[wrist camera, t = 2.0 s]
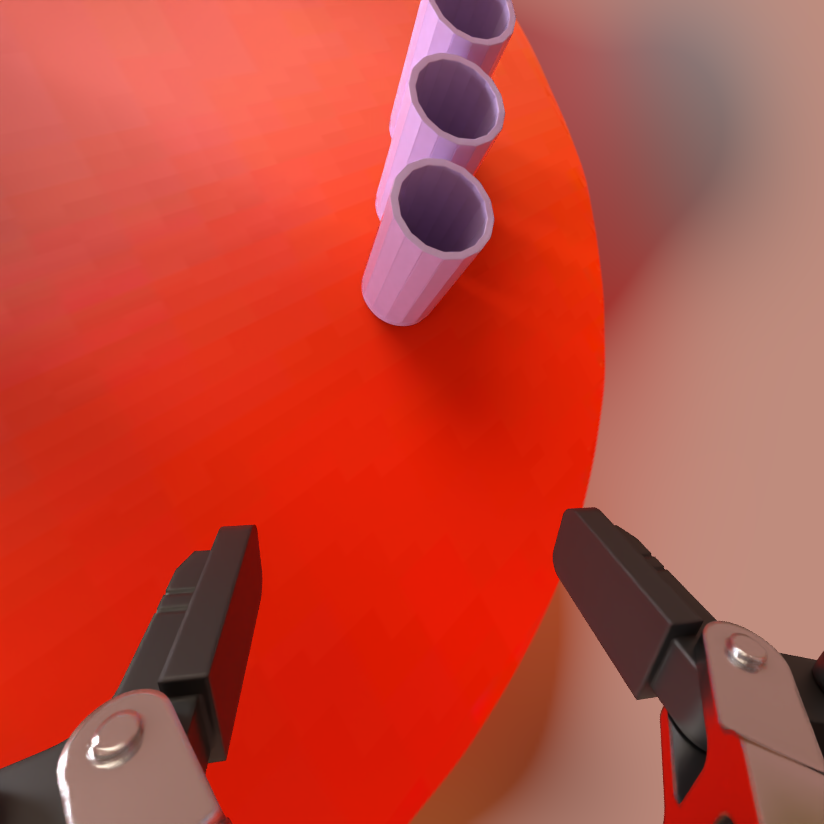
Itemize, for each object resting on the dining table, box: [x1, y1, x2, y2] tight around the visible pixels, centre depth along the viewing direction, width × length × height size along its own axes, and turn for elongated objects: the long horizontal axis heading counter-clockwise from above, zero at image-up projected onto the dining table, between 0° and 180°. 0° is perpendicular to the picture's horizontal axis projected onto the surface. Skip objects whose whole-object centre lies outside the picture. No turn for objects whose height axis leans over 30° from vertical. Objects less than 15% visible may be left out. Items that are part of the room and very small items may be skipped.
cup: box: [389, 0, 516, 138], centre depth 29 cm, size 6×6×10 cm
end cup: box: [362, 158, 494, 326], centre depth 26 cm, size 6×6×10 cm
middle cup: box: [375, 53, 505, 221], centre depth 28 cm, size 6×6×10 cm
